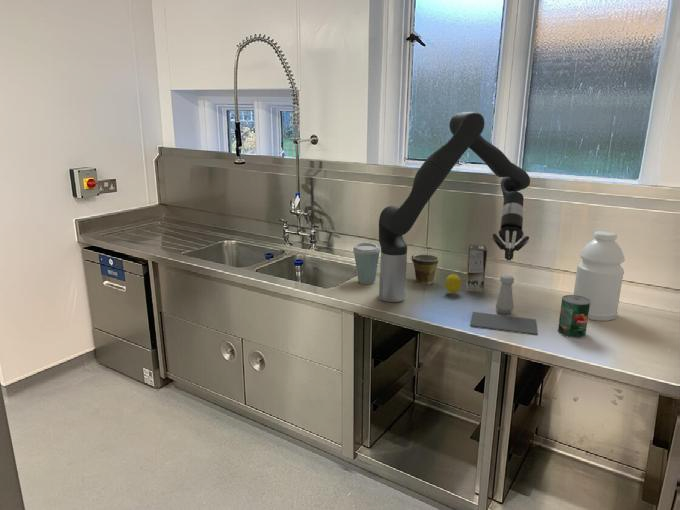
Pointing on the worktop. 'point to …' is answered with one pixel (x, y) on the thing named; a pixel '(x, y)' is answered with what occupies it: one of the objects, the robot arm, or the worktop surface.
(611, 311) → the bottle
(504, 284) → the salt shaker
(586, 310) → the canned tomato
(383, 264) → the robot arm
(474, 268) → the coffee box
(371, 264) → the disposable coffee cup
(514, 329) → the mat
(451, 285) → the lemon
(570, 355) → the worktop surface
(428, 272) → the ceramic cup
